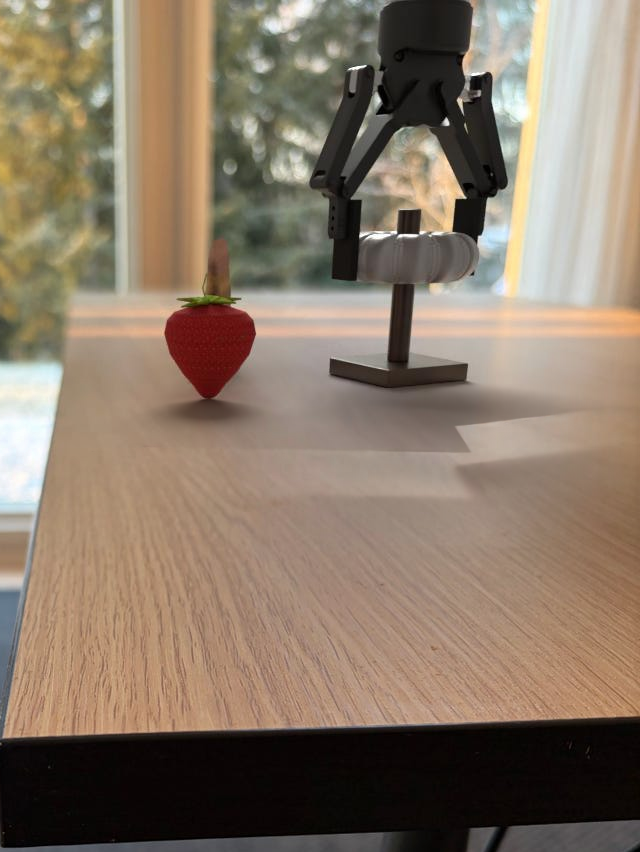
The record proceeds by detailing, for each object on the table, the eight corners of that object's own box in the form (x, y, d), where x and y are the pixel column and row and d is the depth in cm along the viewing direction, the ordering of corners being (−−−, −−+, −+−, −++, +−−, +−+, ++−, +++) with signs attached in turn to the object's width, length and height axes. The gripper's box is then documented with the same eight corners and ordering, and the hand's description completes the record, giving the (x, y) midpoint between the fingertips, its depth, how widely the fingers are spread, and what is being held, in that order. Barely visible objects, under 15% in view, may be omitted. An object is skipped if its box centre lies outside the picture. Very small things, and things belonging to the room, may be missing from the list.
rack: (404, 367, 104) (417, 208, 98) (466, 380, 96) (485, 208, 91) (328, 373, 100) (337, 209, 95) (387, 387, 93) (401, 210, 87)
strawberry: (252, 406, 85) (256, 275, 81) (160, 404, 86) (159, 275, 82) (255, 393, 90) (259, 270, 87) (168, 392, 91) (168, 270, 87)
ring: (414, 273, 103) (418, 229, 101) (505, 282, 92) (510, 233, 91) (307, 278, 98) (309, 231, 96) (390, 287, 87) (394, 235, 86)
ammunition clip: (213, 362, 107) (214, 236, 103) (231, 363, 107) (233, 236, 102) (201, 379, 97) (202, 241, 93) (221, 380, 97) (223, 241, 93)
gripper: (508, 18, 95) (480, 270, 103) (275, -2, 85) (265, 279, 93) (572, 5, 88) (537, 275, 97) (328, -18, 78) (313, 285, 87)
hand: (404, 277), depth 95 cm, fingers closed on ring, 12 cm apart
